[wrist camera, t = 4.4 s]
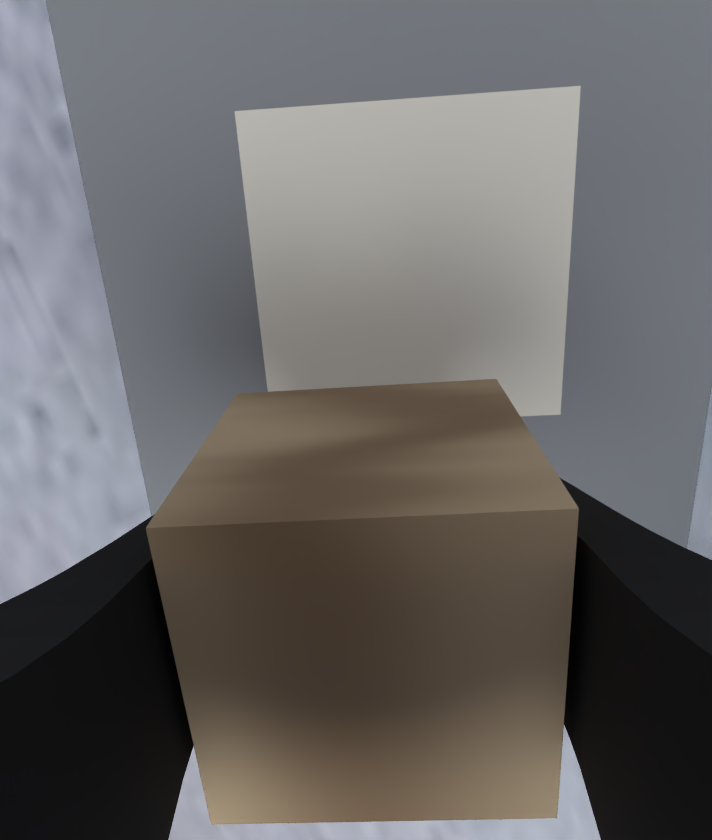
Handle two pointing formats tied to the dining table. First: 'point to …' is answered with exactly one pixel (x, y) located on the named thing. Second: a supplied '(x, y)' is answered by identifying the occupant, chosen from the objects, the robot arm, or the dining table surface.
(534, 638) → the oak cube
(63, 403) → the dining table surface
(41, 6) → the dining table surface
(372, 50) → the plinth
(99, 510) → the dining table surface
